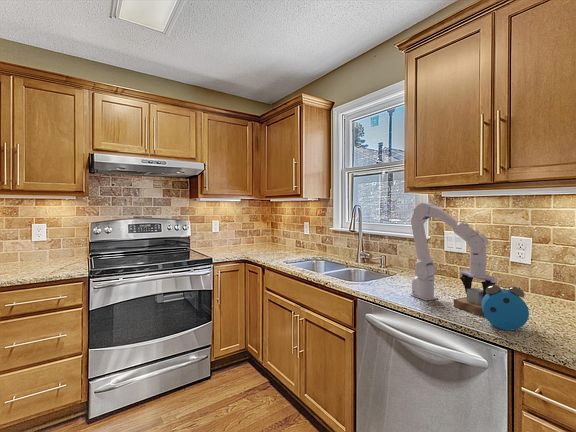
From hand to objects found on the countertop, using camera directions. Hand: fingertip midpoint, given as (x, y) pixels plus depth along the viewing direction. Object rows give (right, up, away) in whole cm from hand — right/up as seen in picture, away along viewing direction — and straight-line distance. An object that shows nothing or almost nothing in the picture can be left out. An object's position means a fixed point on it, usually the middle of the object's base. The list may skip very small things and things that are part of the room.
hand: (476, 295), depth 129 cm
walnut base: (0, -5, 0) cm, 5 cm away
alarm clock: (-2, -7, -19) cm, 21 cm away
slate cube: (0, -2, 0) cm, 2 cm away
